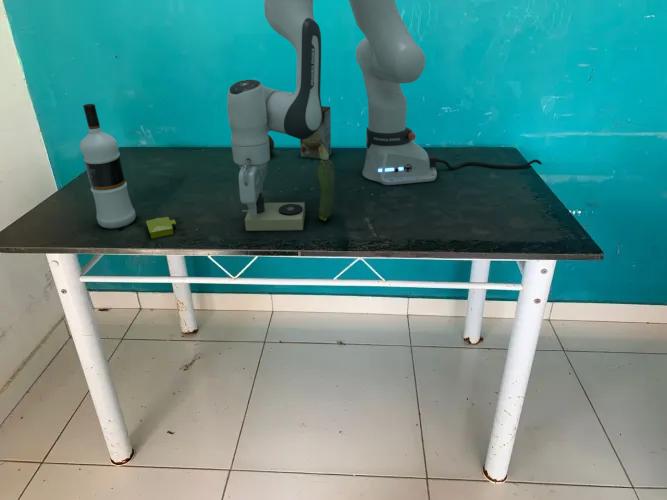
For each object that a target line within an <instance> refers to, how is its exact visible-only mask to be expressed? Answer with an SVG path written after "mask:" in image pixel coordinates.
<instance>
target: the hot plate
mask: <svg viewBox="0 0 667 500" xmlns="http://www.w3.org/2000/svg"><path fill="white" fill-rule="evenodd" d="M286 204H297V205H300V206H302V208H303V211H302V212H301V213H300V214H297V215H292V216H287V215H282V214H280V213H279V208H280V207H281V206H283V205H286ZM264 206H265V211H264V212H263V213H260V214H256V215H250V214H249V209H246V210H245V209H243V210H241V211H242V212H247V213H246V216H245V218H244V226H245V231H247V232H251V231H252V232H255V231H257V232H259V231H261V232H262V231H264V232H265V231H303V230H304V223H305V217H306V204H305V202H304V201H301V202H299V201H297V202H264Z"/></svg>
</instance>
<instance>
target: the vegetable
mask: <svg viewBox="0 0 667 500" xmlns="http://www.w3.org/2000/svg"><path fill="white" fill-rule="evenodd" d="M319 152H320V158H321V159H320V161H319V162H318V163H317V165H316V175H317V180H318V183H319V188H320V189H319V190H320V191H319V193H320V196H319V205H318V214H319V215H318V219H320V221H324V222H327V220H328V218H330V217H331V215H332V214H333V210H334V203H335V188H336V187H335V184H336V169H335V166H334V163H333V161H331V160H330V159H329V158H330V157H329V156H330V155H329V156H328V152H327V151H326V149H324V147H323V146H320V147H319Z"/></svg>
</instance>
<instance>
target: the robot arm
mask: <svg viewBox="0 0 667 500" xmlns="http://www.w3.org/2000/svg"><path fill="white" fill-rule="evenodd" d="M314 1H315V0H264V2H263V5H264V6H263V7H264V9H263V10H264V17H265V19H266V22H267V23H268V25H269V26H270V27H271V29H272V30H273V31H274V32H275V33H276V34H277V35H279V36H280V37H282V38H284V39H285V40H286V41H288V42H289V43H290V44H291V45H292V46H293V48H294V50H295V54H296V85H295V86H296V87H295V91H294V92H290V91H284V90H280V89H274V88H270V87H267V86H265V85H263V84H262V82H261V81H259V80H257V79H244V80H238V81H236V82H234V83H233V84H231V85H230V86H229V88H228V92H227V98H226V108H227V109H226V111H227V119H228V120H227V121H228V125H229V127H230V130H231V135H230V136H231V137H230V147H231V152H232V153H231V156H232V161H233V163H234V164H236V165H238V168H239V169H240V170H239V173H238V190H239V201H240V204H241V205H246V206H247V208H248V209H247V210H249V214H250V215H256V214H257V206H256V202H257V199H258V196H263V187H264V182H265V179H266V178H267V177H266V176H267V172H268V162H269V161H270V160H271V152H270V147H269V137H268V135H269V133H270V132H274V133H279V134H283V135H288V136H289V137H292V138H295V139H298V140H300V139H302V140H303V139H307V138H309V137H310V136H312V135H313V134H314V133H315V132H316V131H317V130H318V129H319V127H320V125H321V122H322V106H323V105H322V99H321V88H322V87H321V84H322V83H321V81H322V75H321V74H322V34H321V33H322V32H321V28H320V26H319V24H318V23H317V22H316V20H315V16H314ZM348 3H349V6H350V8H351V9H350V10H351V12H352V16H353V18H354V22H355V24H356V26H357V27H358V29H359V30H360V31H361V32H362V34H363V36H364V38H363V39H361V40H360V41H359V43H358V45H357V47H356V50H355V59H356V62H357V63H356V64H357V65H358V67H359V69H360V71H361V74H362V79H363V83H364V87H365V93H366V98H367V127H366V131H365V145H366V153H365V154H366V155H365V161H364V166H363V169H362V172H361V174H362V176H363V177H364V178H366V179H367V180H370V181H374V182H378V183H380V184H381V185H384V186H394V185H404V184H417V183H426V182H427V183H428V182H434V181H435V180H436V179H437V177H438V172H437V169H436V166H437V163H440V164H441V163H442V164H444V165H445V166H446V167H447V169H449V170H458V169H461V168H463V167H465V166H469V165H471V166H472V165H473V166H483V167H487V168H497V169H498V168H499V169H522V168H526V167H529V166H530V165H532V164H535V163H536V164H538V165H543V163H542V161H541V160H539V159H532V160H530V161H528V162H527V163H524V164H514V165H513V164H512V165H508V164H493V163H488V162H480V161H466V162H461V163H460V164H458V165H457V166H452V165H451V164H450V163H449V162H448V161H446V160H444V159H441V158H437V157H436V156H435V155H434V154H433V153H432V152H431V153H429V152H427V151H426V150H425V149H424V148H423V147H422V146H421V145H419V144H418V143H416V142H415V139H416V133H415V132H413V130H412V129H411V127H407V113H408V111H407V109H408V101H407V97H406V96H405V94H404V91H403V90H402V86H401V84H412V83H414V82H416V81H418V79H420V77H421V76H422V75H423V73H424V71H425V67H426V56H425V52H424V51H423V49H422V48H421V47H420V46H419V45H418V44H417V42H416V41H415V40H414V38H413V37H412V35H411V34H410V31H409V30H408V28H407V26H406V24H405V22H404V20H403V19H402V16H401V14H400V12H399V10H398V7H397V4H396V3H397V2H396V1H395V0H348ZM263 197H264V196H263Z"/></svg>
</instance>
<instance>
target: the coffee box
mask: <svg viewBox="0 0 667 500" xmlns="http://www.w3.org/2000/svg"><path fill="white" fill-rule="evenodd" d="M321 106H322V122H321V125H320V127H319V129H318V130H317V131H316V132H315V133H314V134H313V135H312V136H310V137H309V138H307V139H303V140H302V139H299V144H300V146H299V147H300V157H301V158H309V159H318V160H322V159H321V158H320V152H319V147H320V146H323V147H324V149H326V151H327V152H328V156H331V155H332V127H331V126H332V125H331V124H332V123H331V118H332V117H331V115H332V113H331V106H327V105H325V106H324V105H321Z"/></svg>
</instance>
